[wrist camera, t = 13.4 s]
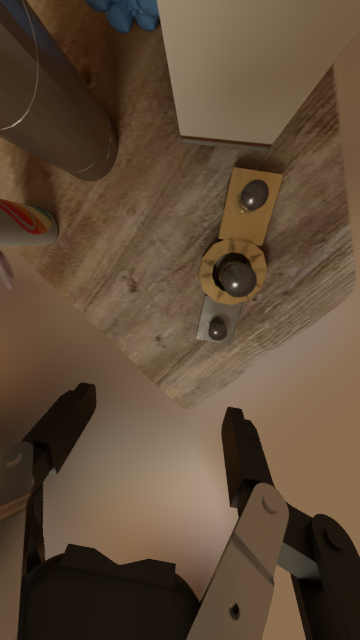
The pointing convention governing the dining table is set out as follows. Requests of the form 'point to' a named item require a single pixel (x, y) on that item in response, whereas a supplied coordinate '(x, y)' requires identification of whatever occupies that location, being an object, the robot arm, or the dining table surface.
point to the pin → (236, 277)
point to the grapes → (128, 13)
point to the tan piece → (237, 248)
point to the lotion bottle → (25, 225)
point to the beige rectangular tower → (249, 63)
